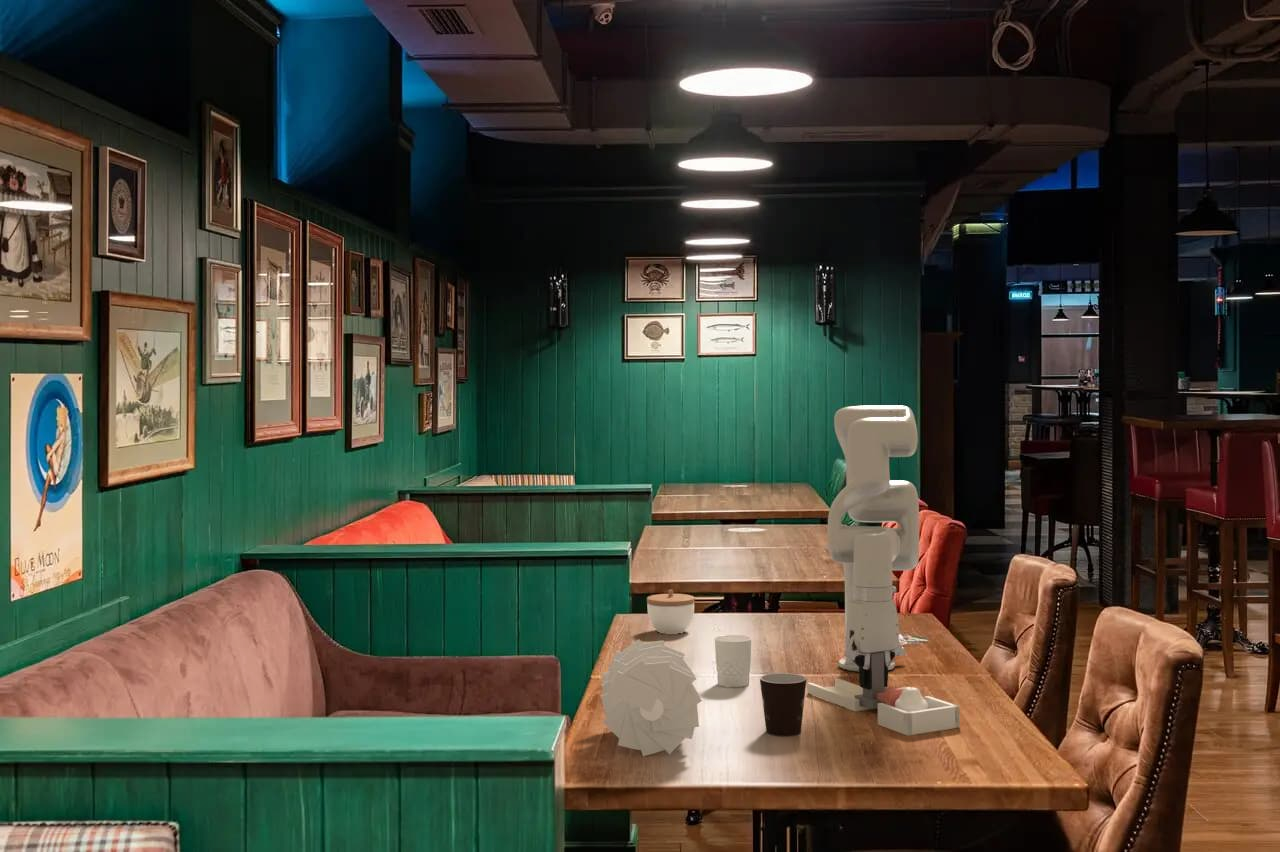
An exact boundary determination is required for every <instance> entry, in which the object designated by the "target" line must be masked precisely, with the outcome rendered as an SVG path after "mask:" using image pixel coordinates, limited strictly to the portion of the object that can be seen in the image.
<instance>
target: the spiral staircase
mask: <svg viewBox="0 0 1280 852" xmlns="http://www.w3.org/2000/svg"><path fill="white" fill-rule="evenodd" d="M685 655H686V653H685V652H682V651H680V650H677V649H675V648H672V647H670V646H668V645H666V644H665V640H657V641H648V642H642V641H641V639H639V638H638V639H637V640H636V641H634V642H633V643H631V644H630V645H629V646H628V647H626V648H625V649H623V651H619V650H617V649H616V650H615V653H614V656H613V657H612V660H611V662H610V665H609V667H608V669H607V671H606V672H604V673H603V672H602V673H601V677H602V680H603V683H600V687H601V689H602V692H603V694H601V695H600V699H601V702H602V706H603V709H602V710H601V711H602V713H603V714H604V715H605V717H606V718H605V719H604V720H603V722H602V724H603V725H605V726H606V728H607V729H609V730H610V731H611V732H612V733H613V734H614V735H615V736H616V737H617V738H618V741H617V742H618V743H617V746H619V747H624V748H629V749H632V750H637V751H641V754H642V757H645V756H649V755H653V754H656V753H658V752H662V751H666V752H667V753H668V754H669V755H671V754H672V753H673V751H674V750H675V749H676V748H677V747H678V746H679V745H680V744H681V743H682V742H683V741H684V740H686V739H688V740H692V739H693V735H694V731H695V728H699V727H700V724H699V712H698V704H699V703H701V702H702V701H703V700H702V699H701V695H700V694H699V692H698V691H697V689H696V687H695V686H694V684H693V683H694V681H696V680H697V678H696V675H695V673H694V672H693V670H692V669H691V668H690V666H689V665H688V664H687V662H686V661H685V660H684V657H685Z"/></svg>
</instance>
